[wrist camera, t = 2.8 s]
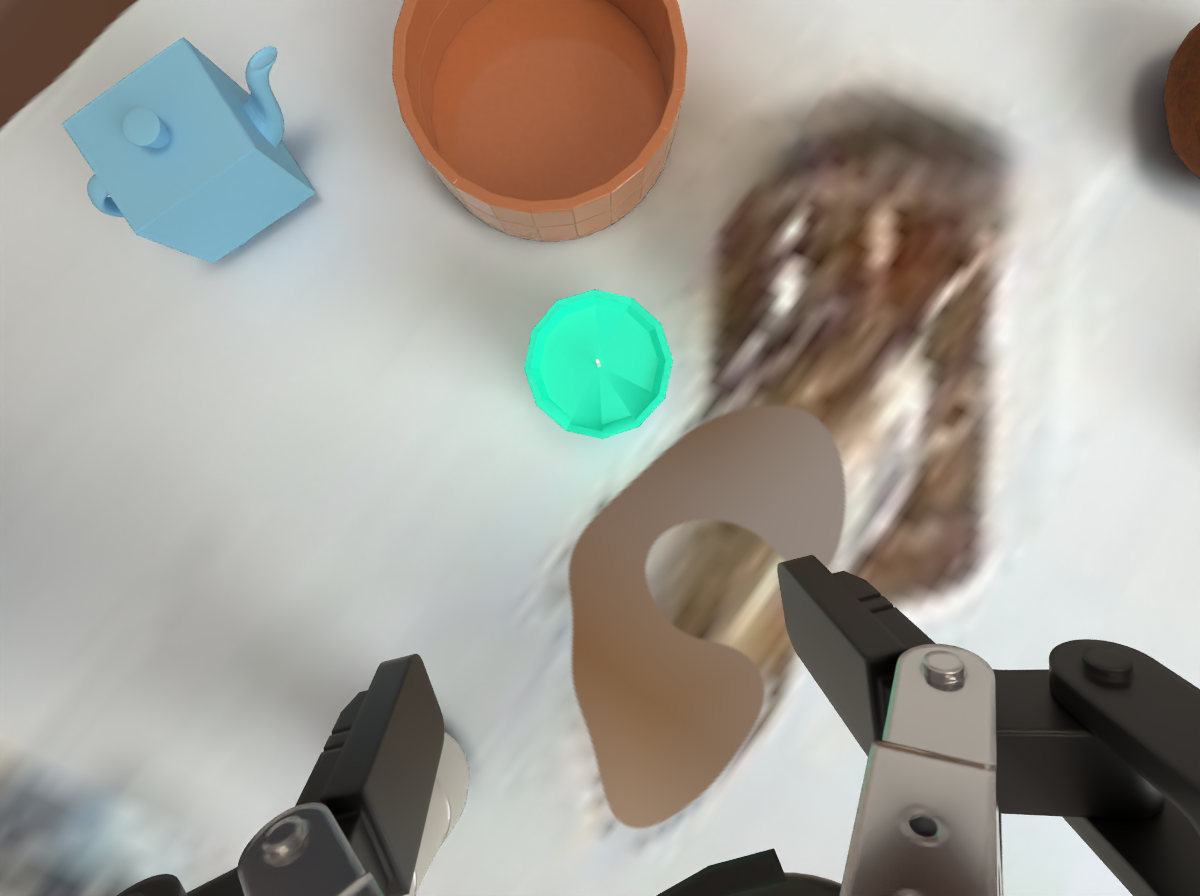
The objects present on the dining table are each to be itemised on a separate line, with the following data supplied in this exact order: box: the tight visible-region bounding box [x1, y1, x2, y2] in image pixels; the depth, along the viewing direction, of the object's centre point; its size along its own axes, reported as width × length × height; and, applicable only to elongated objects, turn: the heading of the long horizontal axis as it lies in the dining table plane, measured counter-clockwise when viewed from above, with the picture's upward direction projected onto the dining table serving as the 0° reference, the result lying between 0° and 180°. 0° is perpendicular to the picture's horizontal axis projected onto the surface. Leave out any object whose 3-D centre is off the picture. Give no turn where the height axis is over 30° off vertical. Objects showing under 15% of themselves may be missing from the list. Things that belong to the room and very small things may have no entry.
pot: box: [392, 0, 687, 241], centre depth 31 cm, size 14×14×5 cm
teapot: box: [62, 37, 316, 263], centre depth 30 cm, size 12×6×8 cm, turn 123°
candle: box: [524, 289, 673, 439], centre depth 28 cm, size 6×6×12 cm
